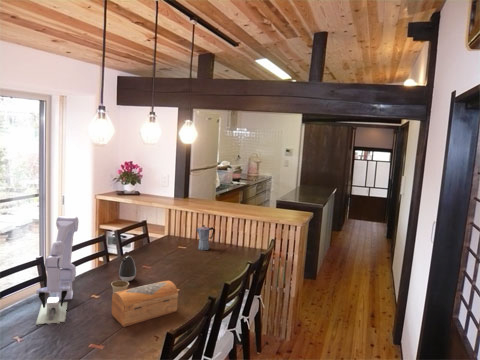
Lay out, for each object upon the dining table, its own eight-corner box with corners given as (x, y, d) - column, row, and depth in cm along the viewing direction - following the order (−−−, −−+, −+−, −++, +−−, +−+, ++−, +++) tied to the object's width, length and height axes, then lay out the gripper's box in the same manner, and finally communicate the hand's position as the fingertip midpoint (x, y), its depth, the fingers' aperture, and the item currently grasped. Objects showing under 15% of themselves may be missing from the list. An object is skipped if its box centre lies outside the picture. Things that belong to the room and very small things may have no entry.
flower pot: (122, 293, 210) (122, 278, 209) (131, 299, 205) (132, 284, 204) (107, 298, 203) (107, 283, 202) (116, 304, 197) (117, 288, 196)
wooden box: (162, 299, 207) (163, 276, 205) (178, 311, 195) (179, 286, 193) (109, 313, 187) (110, 287, 186) (123, 327, 175) (124, 299, 173)
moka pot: (193, 247, 306) (195, 223, 304) (211, 246, 311) (213, 223, 308) (195, 250, 297) (197, 226, 295) (214, 250, 302) (216, 226, 299)
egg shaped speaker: (114, 280, 228) (115, 256, 226) (127, 275, 237) (128, 252, 235) (126, 284, 223) (128, 260, 221) (139, 279, 232) (140, 255, 231)
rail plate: (41, 306, 189) (41, 300, 188) (67, 303, 193) (67, 298, 193) (35, 325, 170) (36, 319, 170) (64, 322, 175) (64, 316, 174)
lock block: (47, 309, 184) (48, 297, 184) (59, 308, 186) (59, 296, 186) (46, 314, 179) (46, 302, 178) (58, 313, 181) (58, 301, 180)
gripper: (35, 284, 174) (35, 311, 176) (69, 281, 180) (68, 308, 181) (37, 278, 181) (37, 304, 182) (70, 276, 186) (69, 302, 188)
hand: (53, 306), depth 182 cm, fingers open, 7 cm apart
